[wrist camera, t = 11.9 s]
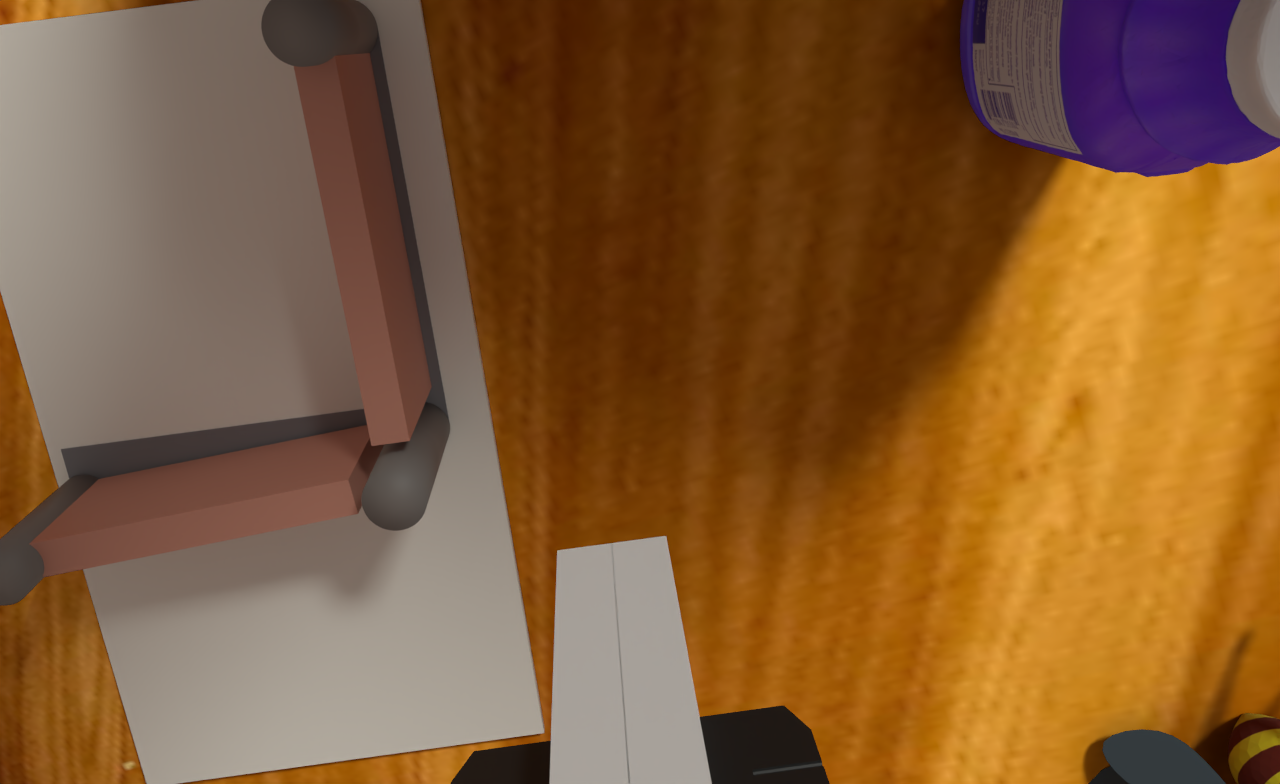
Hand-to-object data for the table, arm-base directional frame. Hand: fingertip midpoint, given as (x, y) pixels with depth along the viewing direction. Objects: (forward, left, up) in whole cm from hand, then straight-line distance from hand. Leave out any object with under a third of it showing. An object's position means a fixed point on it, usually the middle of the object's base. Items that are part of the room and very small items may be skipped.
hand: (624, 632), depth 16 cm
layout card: (+4, -12, -26) cm, 29 cm away
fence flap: (+6, -14, -26) cm, 30 cm away
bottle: (-6, +16, -27) cm, 32 cm away
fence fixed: (-2, -7, -26) cm, 27 cm away
